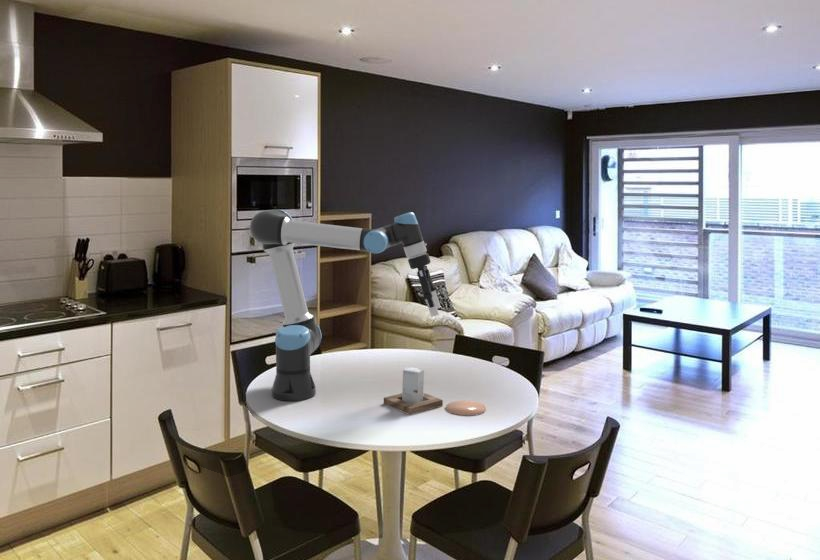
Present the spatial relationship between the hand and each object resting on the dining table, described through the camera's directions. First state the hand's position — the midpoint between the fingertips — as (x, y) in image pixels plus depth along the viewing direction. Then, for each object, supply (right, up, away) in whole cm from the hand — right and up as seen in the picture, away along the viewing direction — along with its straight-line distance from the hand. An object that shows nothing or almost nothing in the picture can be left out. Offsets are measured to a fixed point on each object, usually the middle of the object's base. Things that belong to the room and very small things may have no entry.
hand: (436, 312), depth 235 cm
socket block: (-8, -30, -15) cm, 35 cm away
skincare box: (-8, -30, -15) cm, 35 cm away
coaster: (+9, -31, -19) cm, 37 cm away
